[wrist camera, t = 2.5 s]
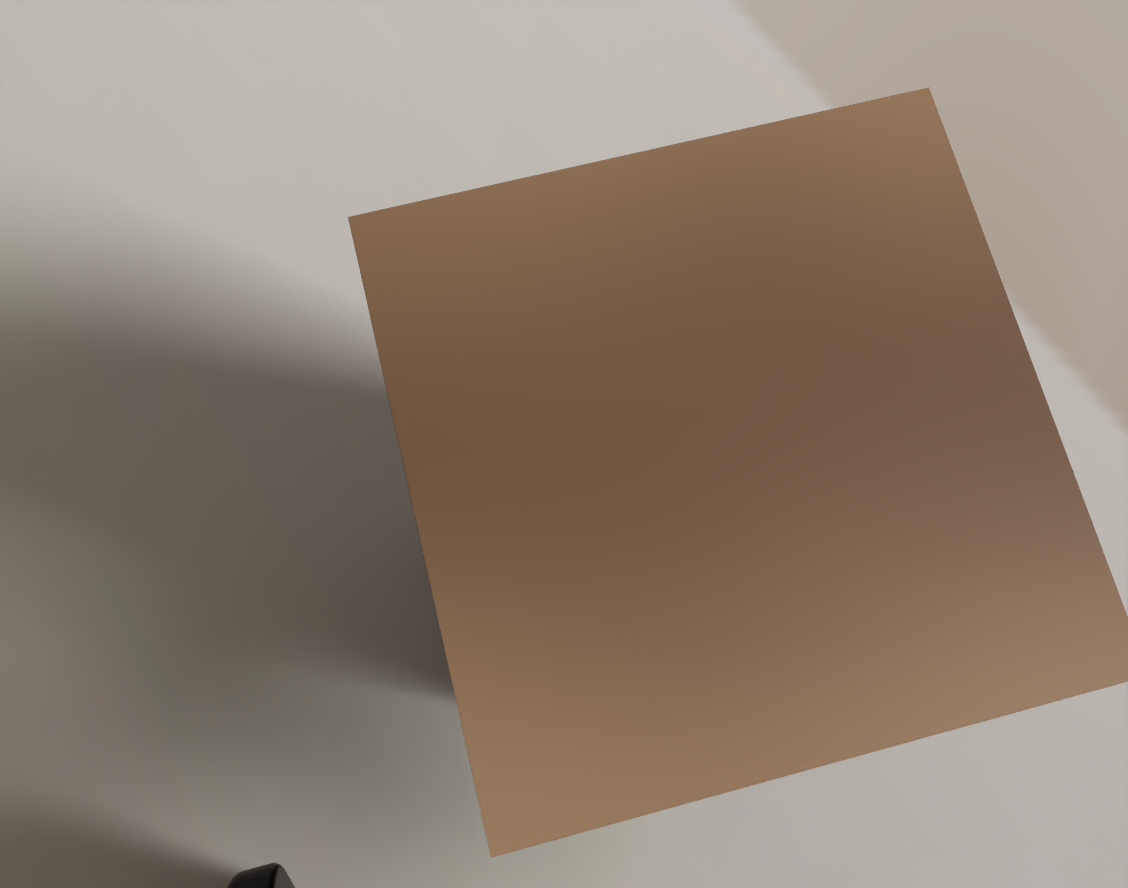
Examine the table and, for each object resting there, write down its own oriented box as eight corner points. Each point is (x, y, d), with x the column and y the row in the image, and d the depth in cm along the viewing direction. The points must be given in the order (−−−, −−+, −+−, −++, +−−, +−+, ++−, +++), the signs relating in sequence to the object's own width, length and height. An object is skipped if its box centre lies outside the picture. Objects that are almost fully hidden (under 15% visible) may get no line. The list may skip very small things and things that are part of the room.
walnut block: (744, 659, 19) (1150, 673, 6) (527, 717, 19) (491, 857, 6) (683, 447, 20) (928, 87, 7) (475, 499, 20) (348, 217, 7)
